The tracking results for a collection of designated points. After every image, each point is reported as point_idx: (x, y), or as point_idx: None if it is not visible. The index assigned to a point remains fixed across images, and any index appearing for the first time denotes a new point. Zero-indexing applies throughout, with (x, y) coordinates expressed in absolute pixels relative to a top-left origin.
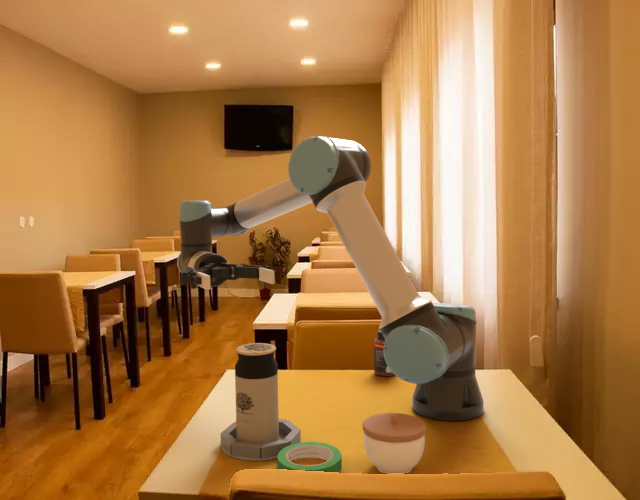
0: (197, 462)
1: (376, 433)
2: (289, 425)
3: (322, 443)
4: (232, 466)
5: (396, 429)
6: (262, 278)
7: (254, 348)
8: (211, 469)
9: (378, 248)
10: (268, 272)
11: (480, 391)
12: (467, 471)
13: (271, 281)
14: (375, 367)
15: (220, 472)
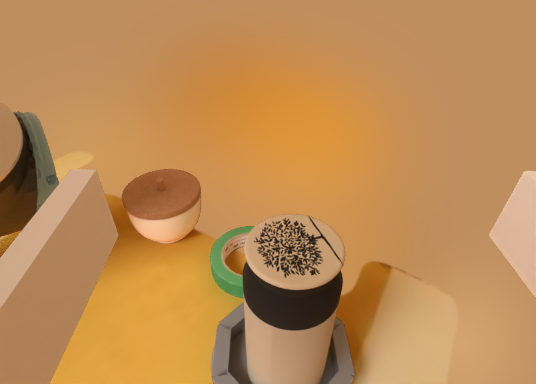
0: (394, 343)
1: (197, 181)
2: (224, 349)
3: (218, 271)
4: (343, 308)
5: (174, 178)
6: (43, 362)
7: (300, 242)
8: (373, 313)
9: None
10: (82, 210)
11: None
12: (121, 200)
13: (113, 223)
14: None
15: (362, 300)
